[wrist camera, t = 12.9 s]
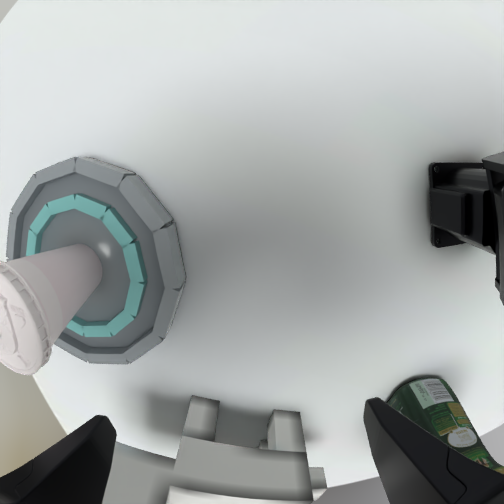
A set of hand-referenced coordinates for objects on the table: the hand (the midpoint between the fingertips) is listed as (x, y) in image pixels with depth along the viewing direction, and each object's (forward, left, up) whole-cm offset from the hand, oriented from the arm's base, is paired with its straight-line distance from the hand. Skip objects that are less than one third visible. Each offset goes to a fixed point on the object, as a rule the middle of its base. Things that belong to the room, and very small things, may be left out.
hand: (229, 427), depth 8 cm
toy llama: (+4, +15, -13) cm, 20 cm away
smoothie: (+12, -3, -12) cm, 17 cm away
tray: (+12, -3, -13) cm, 18 cm away
